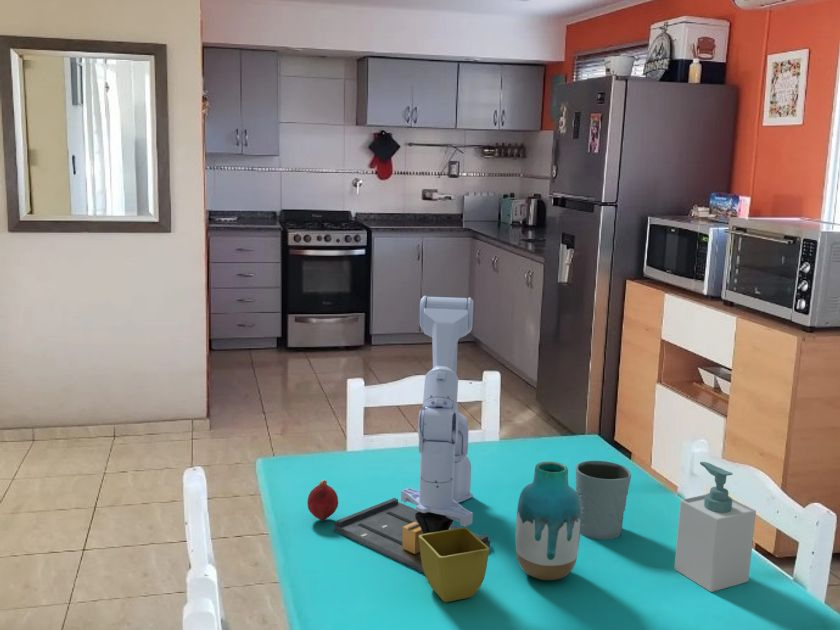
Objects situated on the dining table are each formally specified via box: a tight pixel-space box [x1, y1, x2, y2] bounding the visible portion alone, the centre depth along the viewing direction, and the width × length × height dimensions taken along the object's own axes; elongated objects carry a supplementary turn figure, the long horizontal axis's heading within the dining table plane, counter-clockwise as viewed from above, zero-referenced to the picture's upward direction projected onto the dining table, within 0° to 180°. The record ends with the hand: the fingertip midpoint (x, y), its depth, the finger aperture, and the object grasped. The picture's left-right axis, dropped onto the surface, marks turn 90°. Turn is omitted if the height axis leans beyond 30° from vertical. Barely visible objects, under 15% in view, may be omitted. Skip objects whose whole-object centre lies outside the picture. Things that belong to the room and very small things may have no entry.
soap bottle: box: [673, 461, 757, 593], centre depth 146 cm, size 9×9×19 cm
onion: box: [307, 479, 339, 521], centre depth 164 cm, size 6×6×8 cm
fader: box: [402, 522, 423, 554], centre depth 151 cm, size 3×3×4 cm
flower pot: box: [419, 526, 490, 603], centre depth 139 cm, size 9×9×9 cm
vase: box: [515, 461, 581, 581], centre depth 145 cm, size 11×11×19 cm
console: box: [333, 497, 491, 575], centre depth 158 cm, size 16×24×2 cm, turn 47°
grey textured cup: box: [575, 460, 632, 541], centre depth 163 cm, size 10×10×12 cm
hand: (434, 551), depth 148 cm, fingers closed
